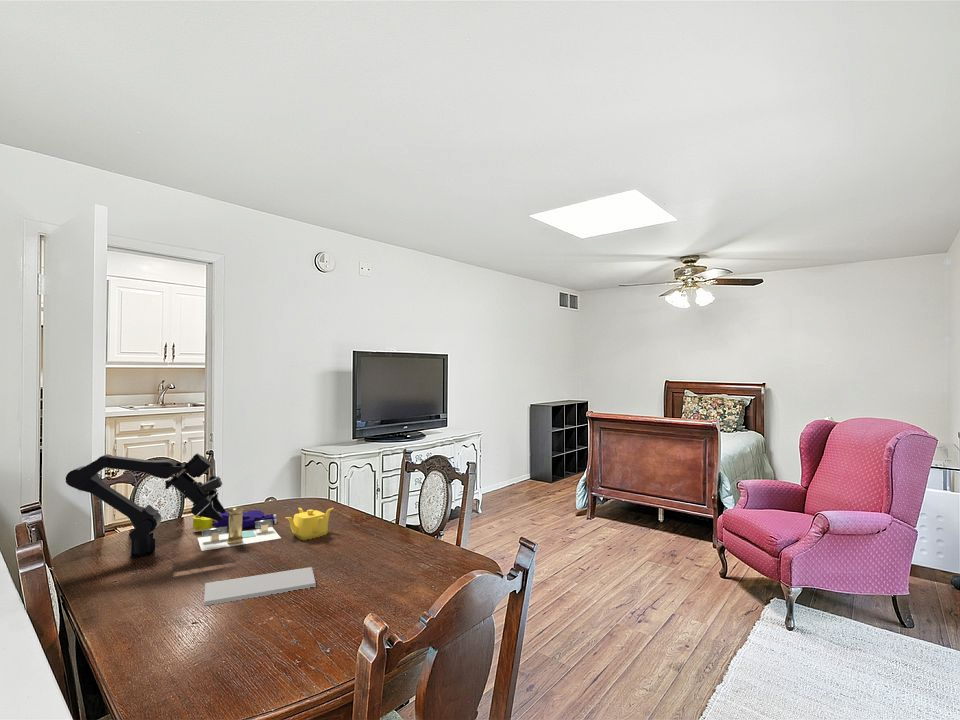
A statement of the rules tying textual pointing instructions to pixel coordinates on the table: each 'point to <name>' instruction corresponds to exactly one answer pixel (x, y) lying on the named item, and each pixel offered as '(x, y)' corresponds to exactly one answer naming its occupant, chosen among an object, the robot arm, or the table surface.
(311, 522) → the teapot
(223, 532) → the shafts
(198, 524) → the toy
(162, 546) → the table surface
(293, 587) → the grey flat slab
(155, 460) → the robot arm
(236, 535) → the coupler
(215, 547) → the board
